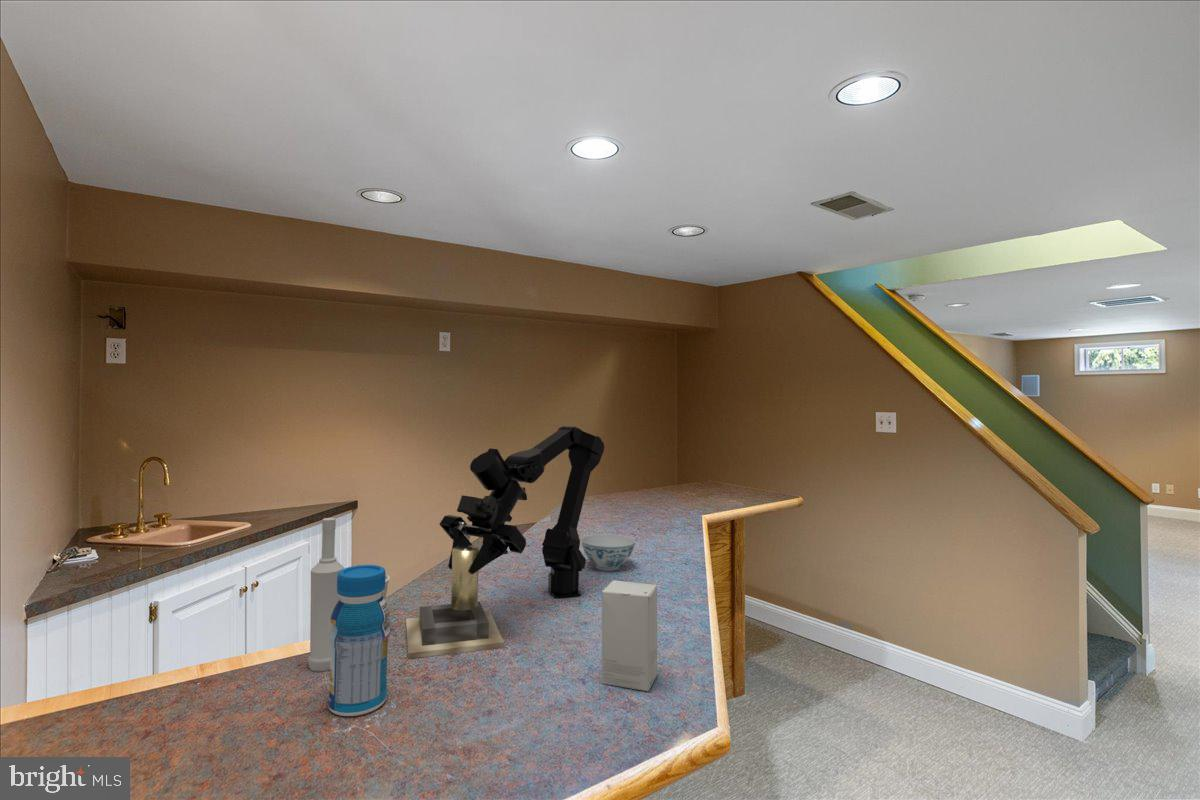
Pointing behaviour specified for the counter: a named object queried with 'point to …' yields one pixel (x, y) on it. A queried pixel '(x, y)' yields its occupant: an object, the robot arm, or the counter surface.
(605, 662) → the skincare box
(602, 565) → the chinaware
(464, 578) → the cylinder
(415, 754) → the counter surface
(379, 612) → the beverage bottle
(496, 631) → the jig plate
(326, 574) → the bottle
